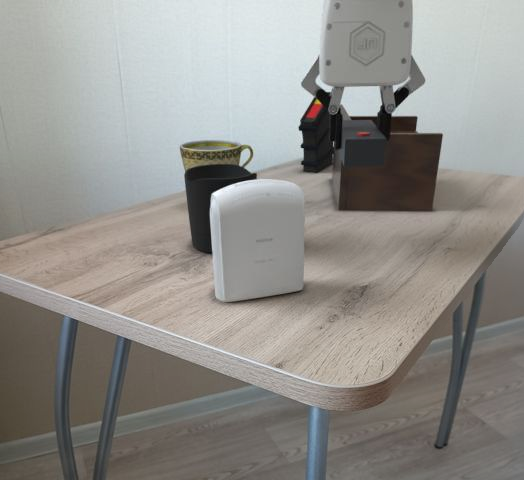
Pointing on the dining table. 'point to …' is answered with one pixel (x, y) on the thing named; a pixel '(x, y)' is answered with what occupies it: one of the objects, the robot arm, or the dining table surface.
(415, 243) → the dining table surface
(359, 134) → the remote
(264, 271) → the photo printer
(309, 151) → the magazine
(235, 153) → the ceramic cup
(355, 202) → the wooden storage bin
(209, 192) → the pen holder
